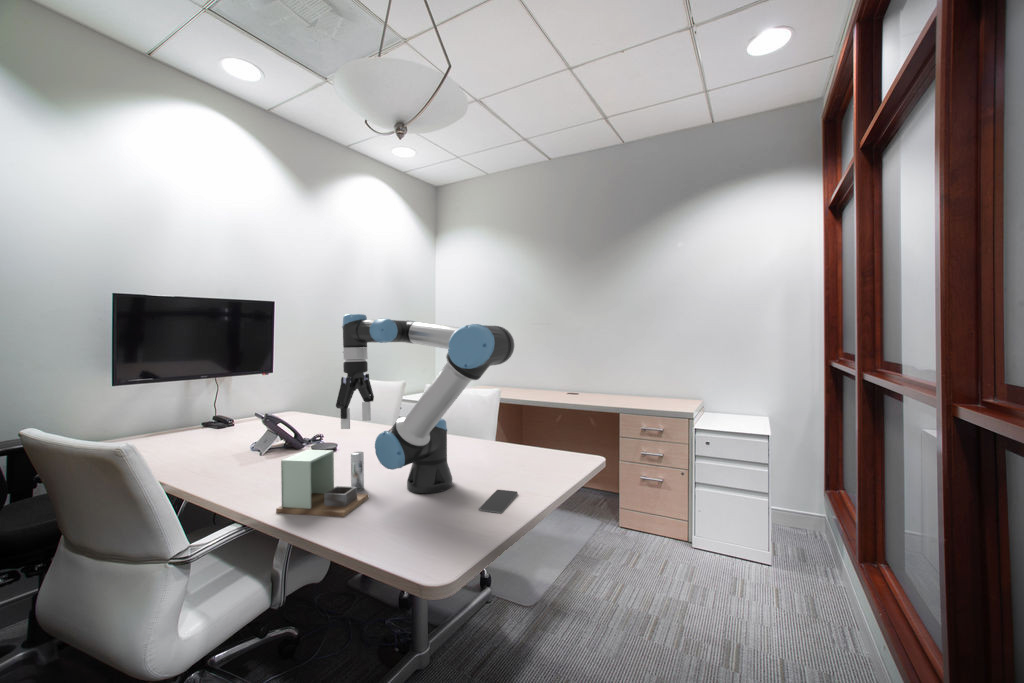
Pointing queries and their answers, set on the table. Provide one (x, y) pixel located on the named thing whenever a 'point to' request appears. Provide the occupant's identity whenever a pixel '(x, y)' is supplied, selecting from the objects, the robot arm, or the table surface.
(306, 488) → the cover
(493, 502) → the smartphone
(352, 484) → the stub
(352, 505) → the board
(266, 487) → the table surface
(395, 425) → the robot arm
